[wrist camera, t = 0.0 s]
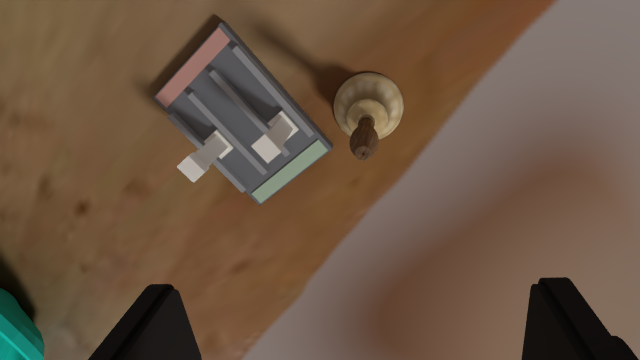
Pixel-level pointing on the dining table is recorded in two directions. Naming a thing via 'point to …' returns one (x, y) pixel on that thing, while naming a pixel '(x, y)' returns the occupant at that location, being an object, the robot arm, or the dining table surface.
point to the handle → (275, 136)
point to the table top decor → (18, 332)
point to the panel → (239, 113)
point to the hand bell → (367, 111)
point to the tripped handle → (205, 155)
